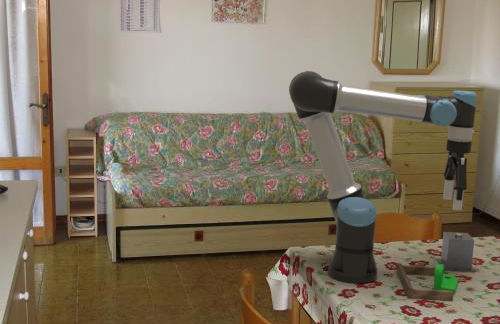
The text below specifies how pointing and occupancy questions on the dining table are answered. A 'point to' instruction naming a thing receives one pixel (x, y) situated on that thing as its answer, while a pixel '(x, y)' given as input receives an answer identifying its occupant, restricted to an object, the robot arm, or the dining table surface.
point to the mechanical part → (444, 280)
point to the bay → (421, 293)
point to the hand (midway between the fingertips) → (451, 204)
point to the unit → (457, 252)
